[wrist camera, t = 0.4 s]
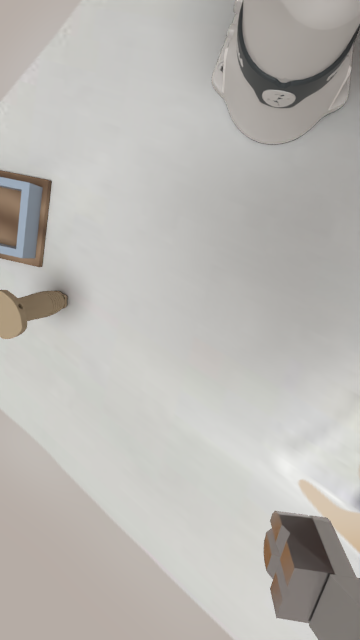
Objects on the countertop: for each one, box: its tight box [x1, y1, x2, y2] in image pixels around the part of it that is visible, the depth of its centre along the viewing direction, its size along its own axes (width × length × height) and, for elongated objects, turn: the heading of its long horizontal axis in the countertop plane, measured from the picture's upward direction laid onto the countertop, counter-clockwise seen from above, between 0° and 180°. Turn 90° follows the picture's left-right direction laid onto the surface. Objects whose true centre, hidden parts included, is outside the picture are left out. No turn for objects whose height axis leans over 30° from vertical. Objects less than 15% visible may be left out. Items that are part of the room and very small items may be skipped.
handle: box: [0, 290, 67, 339], centre depth 49 cm, size 5×6×15 cm
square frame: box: [0, 177, 43, 258], centre depth 52 cm, size 11×10×4 cm
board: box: [0, 171, 52, 267], centre depth 54 cm, size 14×12×1 cm
